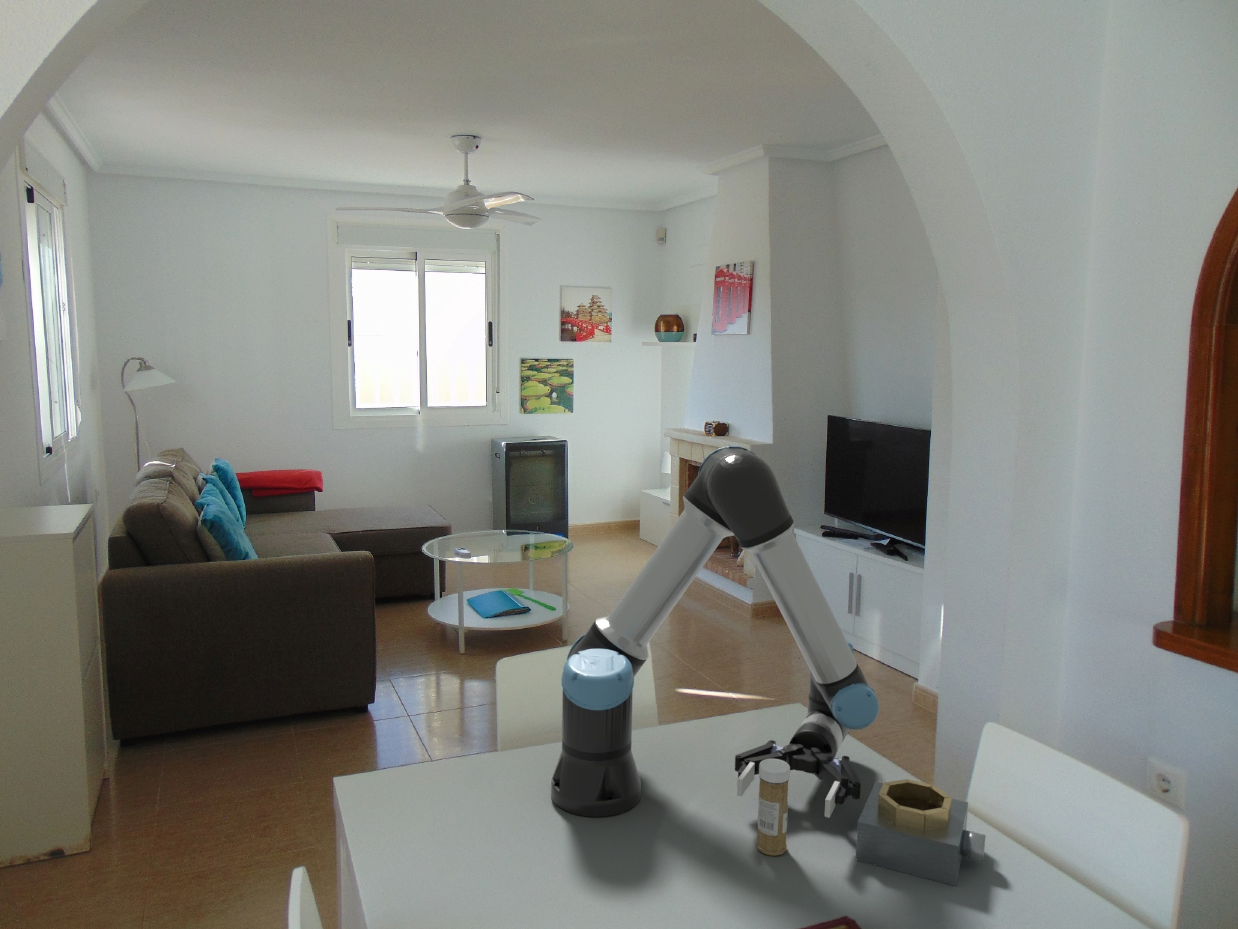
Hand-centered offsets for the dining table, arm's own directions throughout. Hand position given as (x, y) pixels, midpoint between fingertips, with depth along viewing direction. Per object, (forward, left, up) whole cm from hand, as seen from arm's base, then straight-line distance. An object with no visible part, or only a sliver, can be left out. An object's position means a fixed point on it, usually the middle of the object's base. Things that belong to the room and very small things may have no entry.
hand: (782, 798), depth 134 cm
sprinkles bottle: (-1, -2, -8) cm, 8 cm away
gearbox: (+20, +8, -7) cm, 22 cm away
